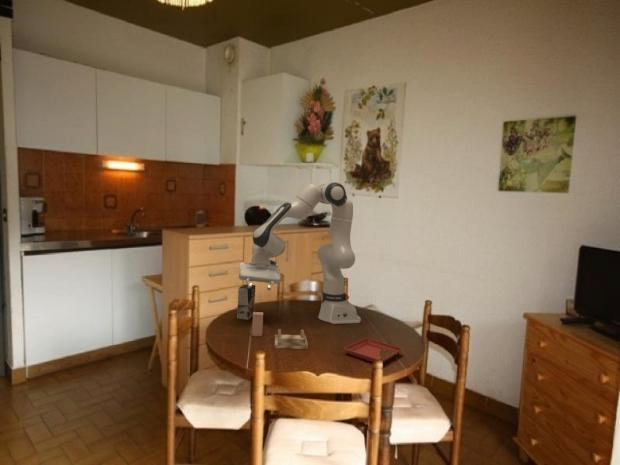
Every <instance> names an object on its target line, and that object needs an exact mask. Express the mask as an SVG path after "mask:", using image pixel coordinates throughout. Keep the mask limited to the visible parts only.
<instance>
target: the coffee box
mask: <svg viewBox="0 0 620 465" xmlns="http://www.w3.org/2000/svg"><path fill="white" fill-rule="evenodd" d="M256 286H257V285H255V284H252V286H251V288H248V285H247V283H246V284H243V285H240V286H239V287H238V293H237V294H238V295H237V311H236V312H237V313H236V319H238V320H239V319H240V320H245V321H249V320H250V319H251V318H253V312H255V308H256V307H255V305H256V304H255V301H256Z"/></svg>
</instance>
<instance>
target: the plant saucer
mask: <svg viewBox="0 0 620 465" xmlns="http://www.w3.org/2000/svg"><path fill="white" fill-rule="evenodd" d="M381 349H383V350H384V351H385V350H387V351H391V352H395V353H394V354H392V355H390V356H388V357H386V358H385V359H383V360H382V361H383V362H384V363H385V361H386V360H388V359H389V360H391V359H392V357H393V358H395V357H396V356H398V355H400V353H401V351H403V348H402V347H398V346H395V345H391V344H388V343H385V342H381V341H378V340H376V339H371V338H368V337H365V338H363V339H360V340H358V341H356V342H354V343H351V344H349V345H347V346H344V350H345V351H346V353H347V354H348V355H349V354H350V356H352V355H353V356H352V357H355V356H356V357H355V358H358V357H359V359H361V358H362V359H361V360H363V359H365V360H364V361H366V360H367V361H366V362H369V361H371V362H370V363H372V362H373V361H375V360H379V359H381V356H380V355H379V354H380V351H381ZM395 355H396V356H395ZM394 356H395V357H394ZM390 358H391V359H390ZM389 360H388V361H389ZM386 362H387V361H386Z"/></svg>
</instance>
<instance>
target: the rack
mask: <svg viewBox="0 0 620 465" xmlns="http://www.w3.org/2000/svg"><path fill="white" fill-rule="evenodd" d="M308 345H309V344H308V340H307V335H306V334H305V330H304V329H300V334H282V329H281V328H277V334H274V349H297V350H305V349H306V350H309V346H308Z"/></svg>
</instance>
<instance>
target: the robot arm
mask: <svg viewBox="0 0 620 465" xmlns="http://www.w3.org/2000/svg"><path fill="white" fill-rule="evenodd" d="M319 203H322V204H325V205H330V206H331V208H332V209H331V210H332V211H331V212H332V213H331V217H330V218H331V219H330V223H329V224H330V225H329V231H328V233H329V235H330V238H331V243H327V244H322V245H320V246H319V248H318V249H317V253H316V255H317V258H318V260H319V263H320V265H321V269H322V277H323V279H322V280H323V281H322V282H323V283H322V284H323V285H322V291H321V295H320V296H321V298H320V300H321V305H320V310H319V312H318V315H317V319H318V320H321V321H323V322H327V323H330V324H334V325H335V324H339V325H340V324H360V323H361V322H362V318H361V317H360V316H359V315H358V313H357V308H356V307H355V306H354V305H353V303H351V302H350V301H349V299H350V296H349V295H348V293H345V276H344V275H343V273H342V270H341V269H343V270H344V269H350V268H352V267H353V266H354V265H355V263H356V262H355V261H356V255H355V253H354V251H353V249H352V244H351V231H352V225H353V217H354V204H353V202H352V201H351V199H348V196H347V192H346V189H345V187H344V185H342V184H341V183H339V182H327V183H323V184H321V185H317V184H315V183H311V182H309V183H307V184H306V185H304V186H303V188H301V190H299V192H298V193H297V194H296V195H295V197H294V198H293V199H292V200H290V201H289V202H285V203H283V204H282V205H280V207H278V208H277V209H276V210H275V211H274V212H273V213H272V214H271V215H270V216H269V217H268V218H267V219H266V220H265V221H264V222H263V223H261V224H260V225H259V226H258V227H257V228H255V230H253V232H252V247H251V254H252V257H251V262H250V263H249V262H242V263H239V265H238V268H239V269H238V270H239V274H238V279H239V280H241V281H245V283H246V285H248V288H251V286H252V285H253V283H252V282H256V283H257V282H258V283H264V284H265V283H266V284H269V285H267V291H272V287H273V285H274V284H276V285H278V284H280V282H281V280H282V276H281V270H280V268H279V262H277V261H274V260H272V258H276V257H278V256H281V255H282V254H283V253H284V252H285V248H286V242H285V240H284V239H283V238H282V237H280V236H279V235H278V234H276V233H275V232H273V230H274V229H275V228H276V227H277V226H278V225H279V224H280V223H281V222H282V221H283V220H285V219H286V218H291V219H295V220H303V219H307V218H308V217H309V216H310V214H312V212H313V211H314V209H315V208H316V207H317V205H318V204H319ZM250 282H251V283H250Z"/></svg>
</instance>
